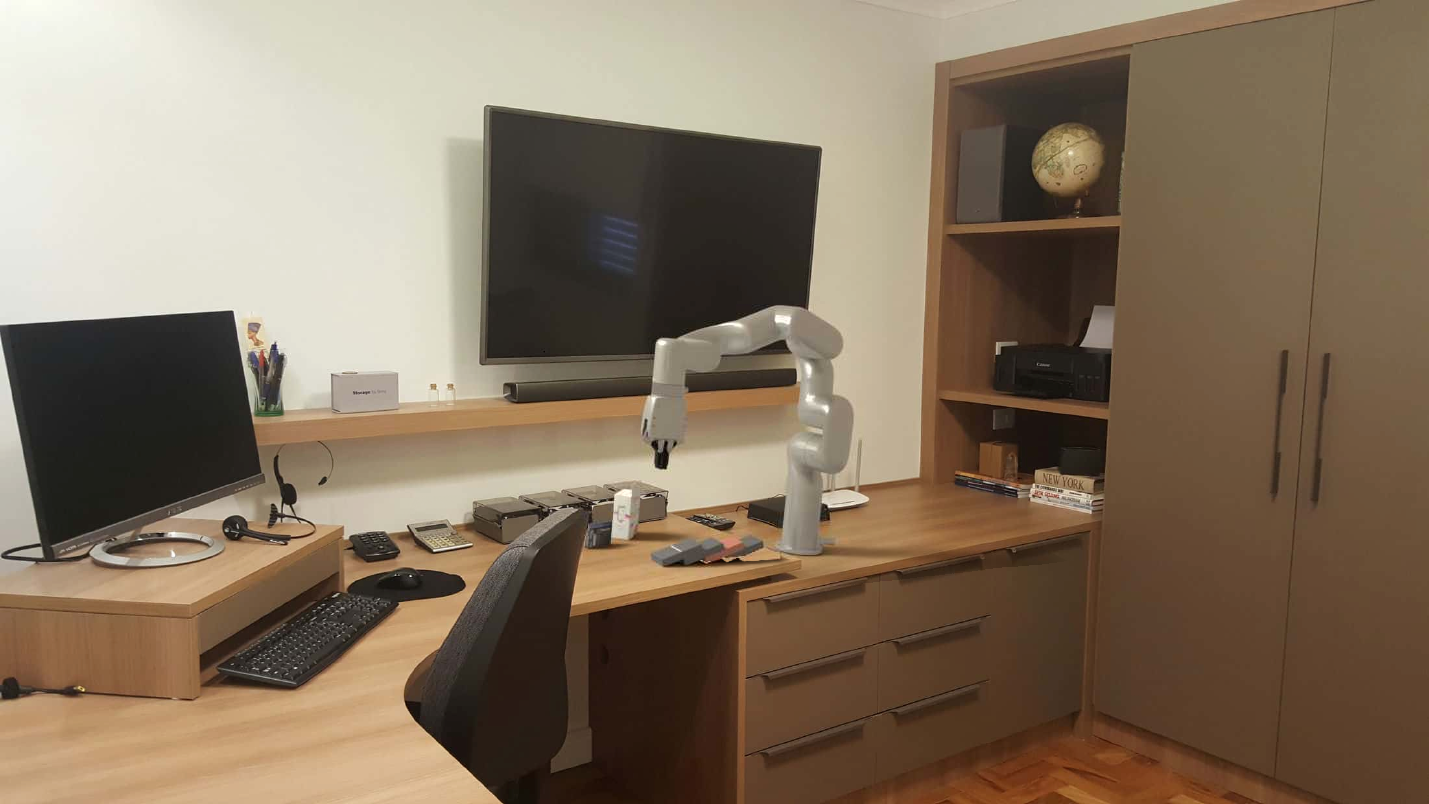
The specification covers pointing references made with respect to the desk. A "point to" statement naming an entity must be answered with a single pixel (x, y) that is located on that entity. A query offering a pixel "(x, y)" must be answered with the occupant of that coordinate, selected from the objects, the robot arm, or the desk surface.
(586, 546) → the mini dv tape
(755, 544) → the domino
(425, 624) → the desk surface
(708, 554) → the domino
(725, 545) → the domino
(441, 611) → the desk surface
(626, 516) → the ink cartridge box
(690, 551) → the domino
